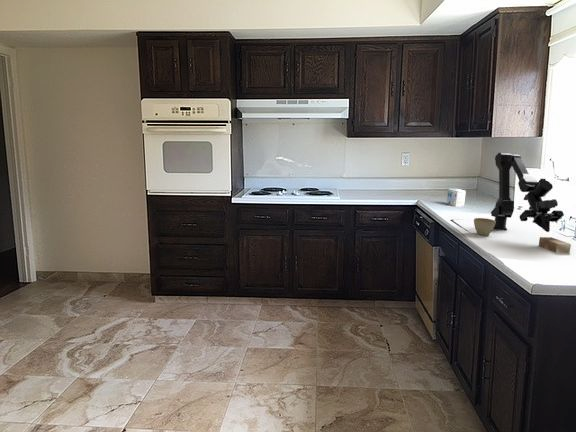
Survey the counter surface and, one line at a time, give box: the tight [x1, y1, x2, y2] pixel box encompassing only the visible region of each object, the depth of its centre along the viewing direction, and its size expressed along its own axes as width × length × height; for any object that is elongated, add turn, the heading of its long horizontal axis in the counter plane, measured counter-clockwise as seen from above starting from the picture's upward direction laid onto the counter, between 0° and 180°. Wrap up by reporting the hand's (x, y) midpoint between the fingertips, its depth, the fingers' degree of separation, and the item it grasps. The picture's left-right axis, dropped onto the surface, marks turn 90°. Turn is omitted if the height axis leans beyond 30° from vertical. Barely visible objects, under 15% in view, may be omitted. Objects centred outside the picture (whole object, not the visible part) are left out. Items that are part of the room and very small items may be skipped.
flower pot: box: [473, 217, 496, 236], centre depth 232 cm, size 10×10×7 cm
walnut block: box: [538, 236, 572, 254], centre depth 209 cm, size 4×6×12 cm
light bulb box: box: [446, 188, 467, 207], centre depth 319 cm, size 11×7×11 cm, turn 17°
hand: (548, 231), depth 213 cm, fingers closed
